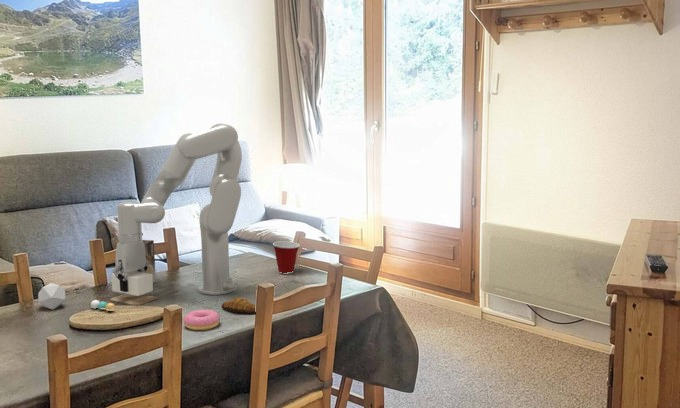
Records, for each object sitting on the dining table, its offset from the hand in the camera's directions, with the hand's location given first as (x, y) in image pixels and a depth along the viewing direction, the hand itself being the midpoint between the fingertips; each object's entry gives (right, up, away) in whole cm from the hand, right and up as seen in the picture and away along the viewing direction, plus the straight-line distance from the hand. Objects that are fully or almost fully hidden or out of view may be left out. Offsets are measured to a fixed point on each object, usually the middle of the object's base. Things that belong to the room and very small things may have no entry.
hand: (132, 288), depth 229 cm
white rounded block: (0, -1, 0) cm, 1 cm away
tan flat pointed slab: (0, -4, +1) cm, 4 cm away
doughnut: (+29, -8, -26) cm, 40 cm away
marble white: (-9, -6, -10) cm, 14 cm away
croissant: (+39, -6, -13) cm, 41 cm away
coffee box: (-2, -1, +20) cm, 20 cm away
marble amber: (-3, -6, -13) cm, 14 cm away
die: (-24, -6, -8) cm, 26 cm away
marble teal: (-6, -6, -11) cm, 14 cm away
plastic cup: (+50, +1, +36) cm, 62 cm away
